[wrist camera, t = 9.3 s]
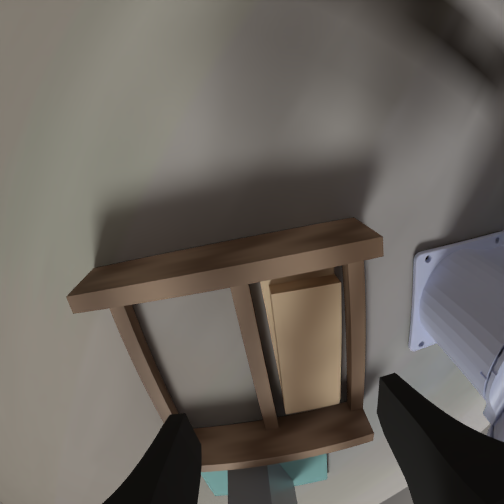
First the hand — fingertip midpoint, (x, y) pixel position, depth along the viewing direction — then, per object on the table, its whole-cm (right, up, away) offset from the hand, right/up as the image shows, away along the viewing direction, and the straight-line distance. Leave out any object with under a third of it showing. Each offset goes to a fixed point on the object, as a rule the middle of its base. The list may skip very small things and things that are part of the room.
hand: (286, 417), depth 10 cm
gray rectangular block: (0, -14, +14) cm, 20 cm away
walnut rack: (-2, -1, +10) cm, 11 cm away
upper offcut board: (+2, 0, +10) cm, 10 cm away
